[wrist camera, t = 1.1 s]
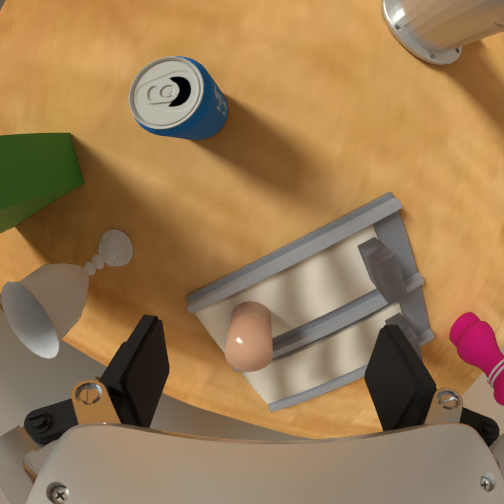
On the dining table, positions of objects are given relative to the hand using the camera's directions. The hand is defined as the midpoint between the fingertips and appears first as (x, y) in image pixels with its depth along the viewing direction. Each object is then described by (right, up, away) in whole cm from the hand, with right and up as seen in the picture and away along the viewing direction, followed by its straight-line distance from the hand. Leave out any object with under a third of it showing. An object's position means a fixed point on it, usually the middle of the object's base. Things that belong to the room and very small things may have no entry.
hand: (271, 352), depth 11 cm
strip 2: (+10, -11, +26) cm, 30 cm away
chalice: (-18, +5, +23) cm, 29 cm away
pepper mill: (+35, -9, +26) cm, 44 cm away
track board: (+9, -5, +25) cm, 27 cm away
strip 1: (+4, -1, +23) cm, 23 cm away
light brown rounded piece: (-1, -4, +23) cm, 24 cm away
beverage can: (-6, +19, +17) cm, 26 cm away
